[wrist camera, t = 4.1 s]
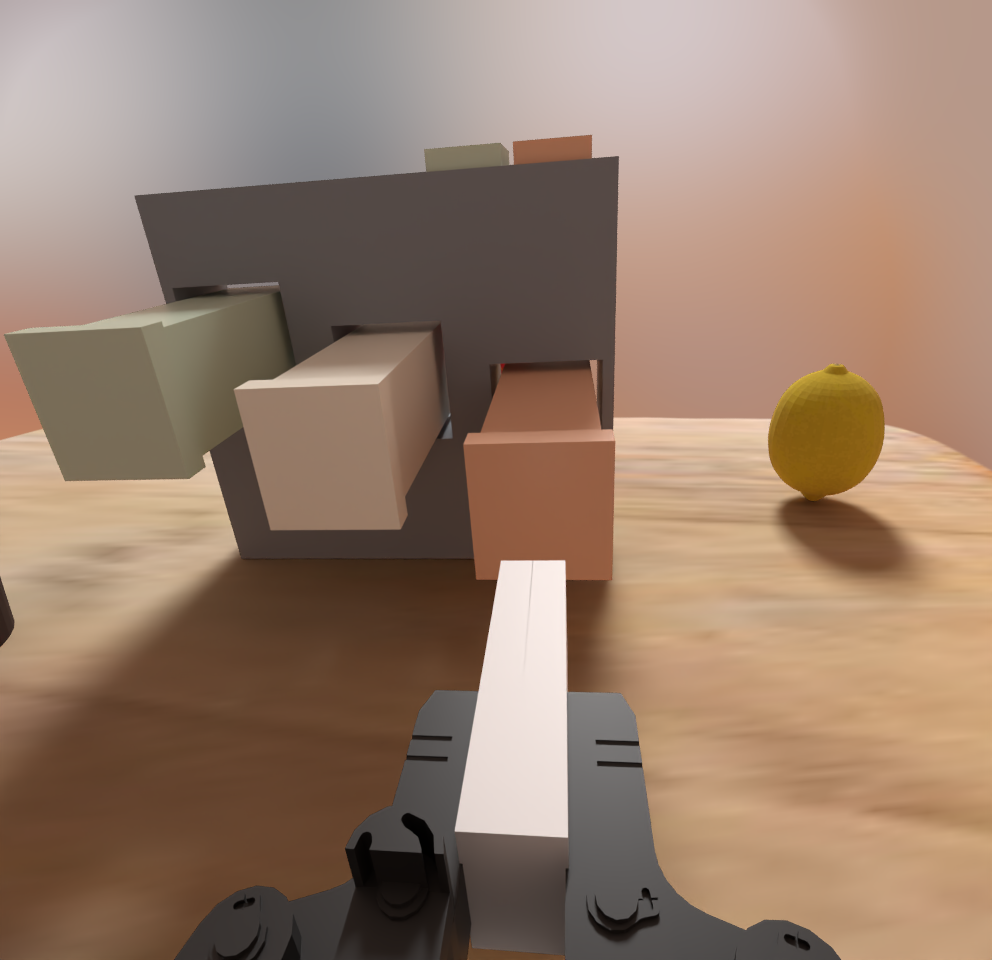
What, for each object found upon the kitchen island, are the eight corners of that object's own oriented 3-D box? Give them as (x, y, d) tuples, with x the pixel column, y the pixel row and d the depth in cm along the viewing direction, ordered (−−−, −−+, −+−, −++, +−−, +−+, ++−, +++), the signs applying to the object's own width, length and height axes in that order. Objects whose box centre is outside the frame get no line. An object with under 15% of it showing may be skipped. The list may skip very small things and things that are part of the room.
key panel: (241, 558, 32) (127, 174, 24) (277, 518, 36) (190, 178, 28) (610, 558, 30) (619, 131, 22) (604, 515, 34) (610, 142, 26)
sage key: (64, 481, 20) (3, 334, 18) (246, 380, 32) (221, 283, 29) (189, 478, 19) (140, 327, 17) (327, 376, 31) (308, 278, 29)
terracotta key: (476, 579, 20) (463, 444, 18) (507, 442, 32) (501, 350, 29) (612, 580, 19) (615, 441, 17) (593, 440, 31) (593, 346, 29)
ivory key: (270, 530, 20) (233, 389, 18) (377, 411, 32) (361, 316, 29) (400, 529, 19) (378, 383, 17) (460, 408, 31) (451, 312, 29)
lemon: (749, 509, 33) (767, 371, 30) (772, 473, 37) (791, 348, 34) (860, 533, 30) (894, 383, 27) (873, 491, 34) (904, 356, 31)
